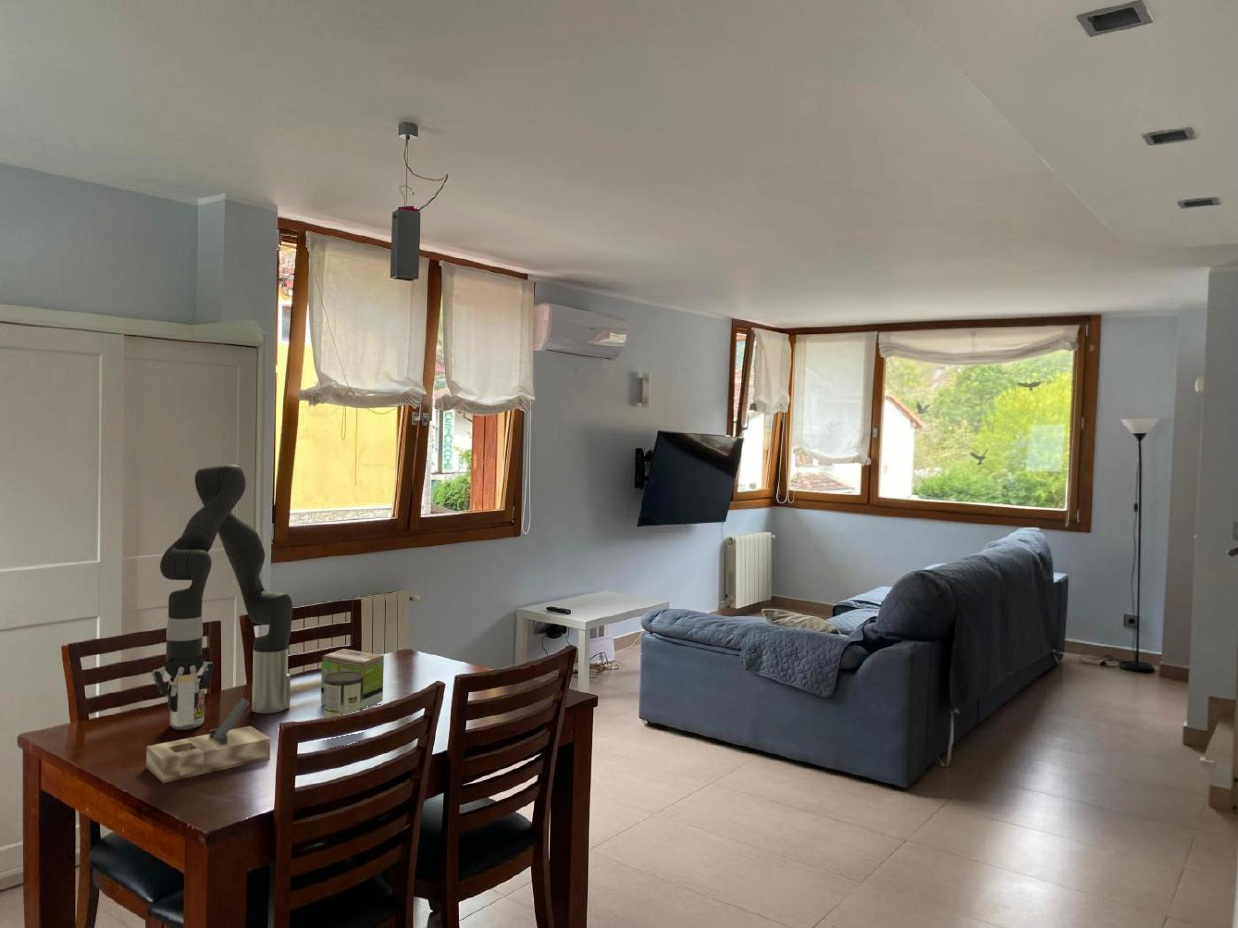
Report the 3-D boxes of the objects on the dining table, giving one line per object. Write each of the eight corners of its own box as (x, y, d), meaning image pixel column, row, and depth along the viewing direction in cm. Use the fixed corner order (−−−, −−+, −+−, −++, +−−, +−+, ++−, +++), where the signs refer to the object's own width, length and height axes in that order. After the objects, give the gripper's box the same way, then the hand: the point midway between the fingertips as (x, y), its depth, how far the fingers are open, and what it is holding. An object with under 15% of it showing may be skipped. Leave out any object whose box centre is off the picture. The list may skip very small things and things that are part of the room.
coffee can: (338, 720, 249) (339, 669, 248) (370, 725, 245) (371, 673, 245) (314, 731, 239) (315, 678, 238) (347, 736, 236) (348, 683, 235)
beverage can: (187, 733, 235) (188, 687, 234) (159, 730, 236) (160, 684, 236) (210, 722, 244) (211, 678, 243) (183, 719, 245) (184, 675, 245)
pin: (188, 719, 212) (189, 670, 212) (193, 723, 210) (194, 673, 209) (171, 722, 210) (173, 672, 209) (177, 726, 207) (178, 676, 207)
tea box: (319, 705, 261) (320, 654, 261) (342, 696, 271) (343, 647, 270) (362, 713, 256) (363, 661, 255) (383, 703, 265) (385, 653, 265)
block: (249, 745, 227) (250, 718, 227) (269, 758, 218) (270, 730, 218) (146, 767, 210) (146, 738, 210) (163, 782, 201) (164, 752, 201)
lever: (245, 699, 221) (240, 696, 221) (251, 703, 219) (247, 700, 218) (215, 738, 217) (211, 735, 216) (221, 742, 214) (217, 740, 213)
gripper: (210, 629, 217) (208, 700, 217) (146, 636, 207) (144, 711, 207) (222, 634, 211) (220, 708, 212) (157, 642, 202) (155, 719, 202)
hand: (182, 709), depth 210 cm, fingers closed on pin, 3 cm apart
